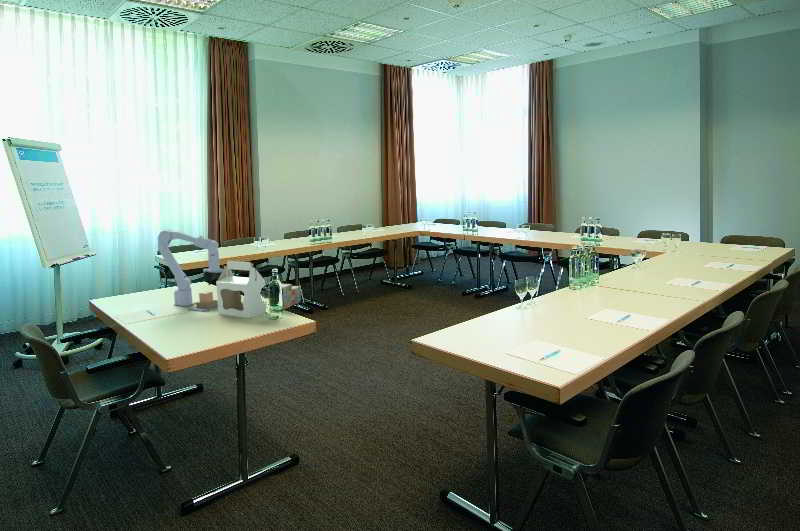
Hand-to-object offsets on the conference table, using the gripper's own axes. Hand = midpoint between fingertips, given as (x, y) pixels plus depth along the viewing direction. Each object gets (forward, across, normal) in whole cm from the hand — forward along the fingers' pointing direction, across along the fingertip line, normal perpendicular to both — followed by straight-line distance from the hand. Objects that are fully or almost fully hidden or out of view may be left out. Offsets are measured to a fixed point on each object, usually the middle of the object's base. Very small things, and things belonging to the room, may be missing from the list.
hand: (215, 284), depth 311 cm
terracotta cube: (+7, +3, -12) cm, 15 cm away
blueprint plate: (+10, +3, -12) cm, 16 cm away
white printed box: (+11, +45, +2) cm, 46 cm away
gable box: (+11, +31, -19) cm, 38 cm away
